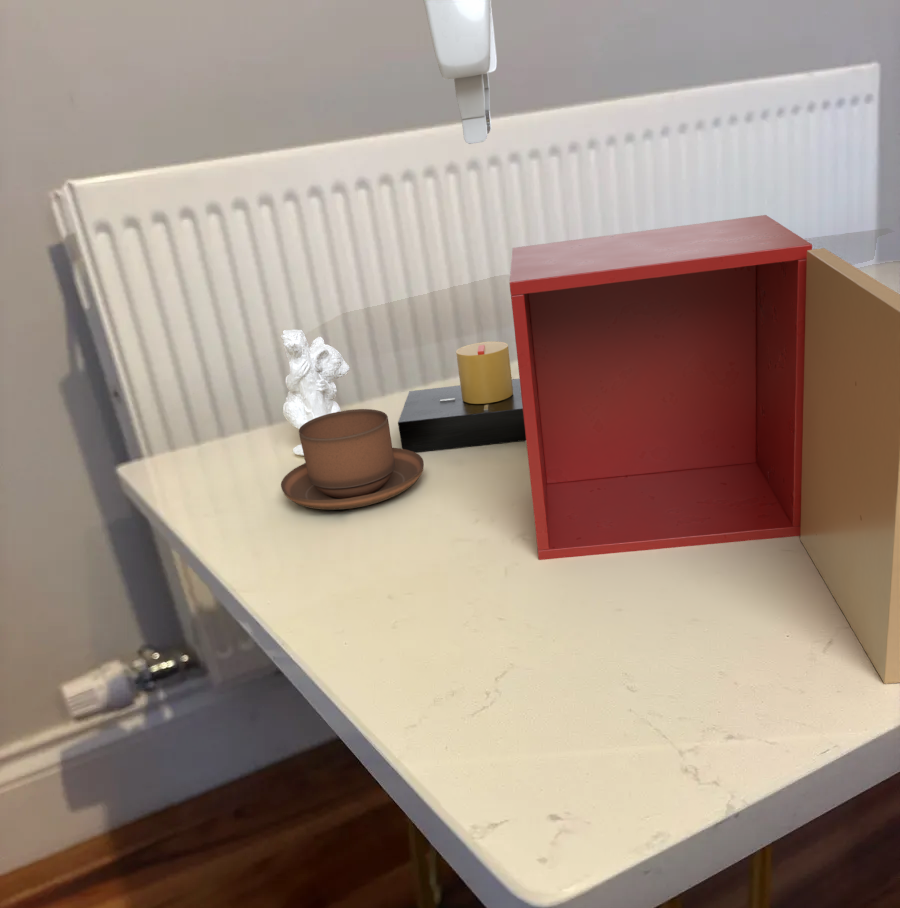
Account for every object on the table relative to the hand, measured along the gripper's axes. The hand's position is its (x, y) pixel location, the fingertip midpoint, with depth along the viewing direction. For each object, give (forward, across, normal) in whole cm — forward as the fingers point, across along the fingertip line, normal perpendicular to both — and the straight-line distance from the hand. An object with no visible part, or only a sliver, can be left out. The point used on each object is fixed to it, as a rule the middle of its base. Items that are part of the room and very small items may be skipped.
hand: (479, 138), depth 84 cm
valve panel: (+25, -2, -4) cm, 25 cm away
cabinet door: (+25, +38, +23) cm, 51 cm away
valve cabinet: (+25, +22, +11) cm, 35 cm away
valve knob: (+22, -2, -2) cm, 22 cm away
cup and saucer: (+25, +12, -13) cm, 31 cm away
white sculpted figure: (+25, 0, -18) cm, 31 cm away
